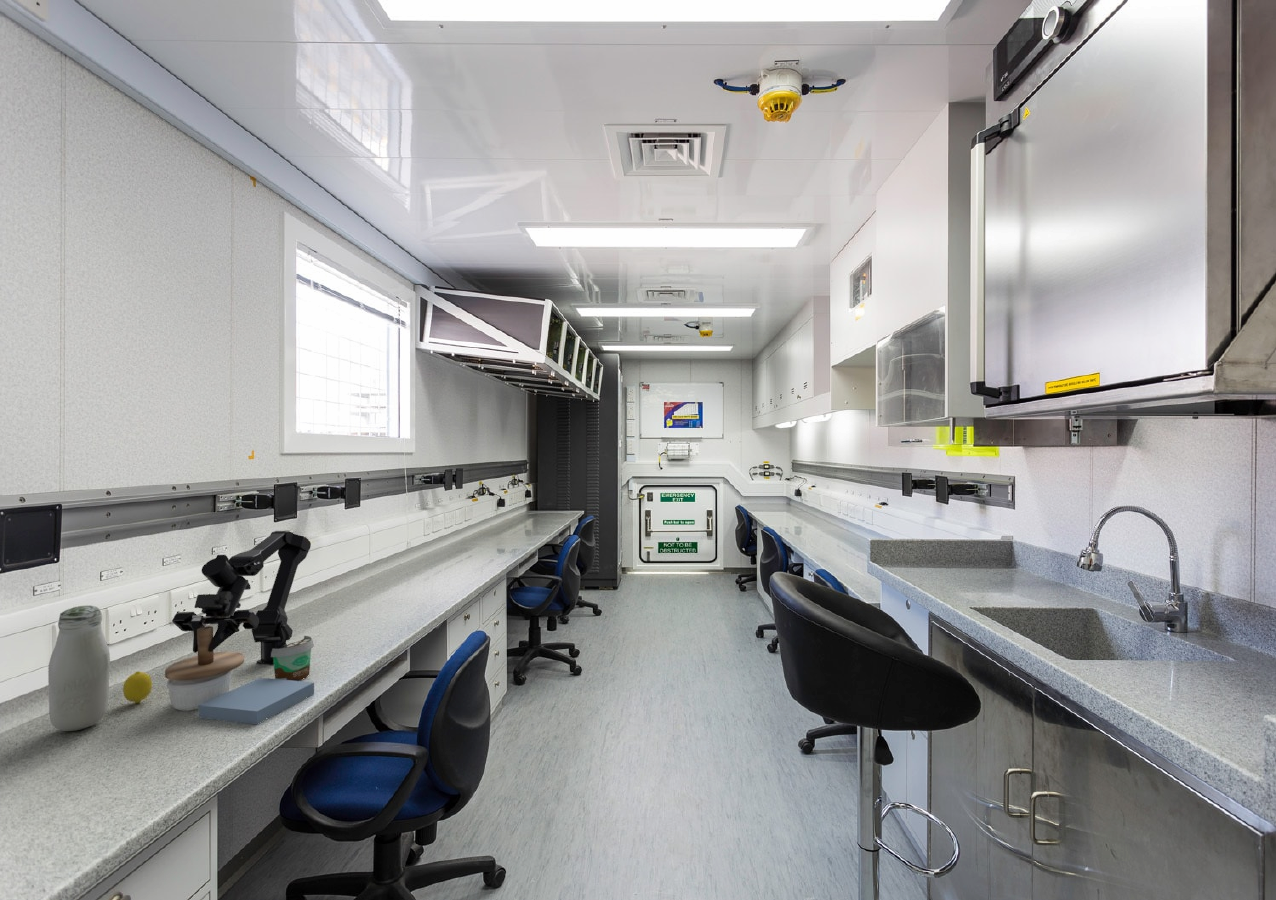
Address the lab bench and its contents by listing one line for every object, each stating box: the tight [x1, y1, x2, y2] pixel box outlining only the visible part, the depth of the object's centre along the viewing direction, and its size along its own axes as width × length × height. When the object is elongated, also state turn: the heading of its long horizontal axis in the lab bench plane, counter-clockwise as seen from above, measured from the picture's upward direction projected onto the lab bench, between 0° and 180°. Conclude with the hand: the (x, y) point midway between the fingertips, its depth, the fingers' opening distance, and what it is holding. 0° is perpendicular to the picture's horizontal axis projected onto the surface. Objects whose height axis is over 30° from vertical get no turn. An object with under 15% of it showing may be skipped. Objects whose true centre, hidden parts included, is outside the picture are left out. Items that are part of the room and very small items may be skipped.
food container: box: [271, 635, 315, 681], centre depth 160 cm, size 12×6×10 cm, turn 168°
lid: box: [164, 625, 245, 681], centre depth 145 cm, size 16×16×10 cm
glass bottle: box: [47, 605, 111, 732], centre depth 132 cm, size 10×10×28 cm
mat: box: [198, 677, 315, 725], centre depth 143 cm, size 17×17×3 cm
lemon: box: [122, 670, 153, 704], centre depth 145 cm, size 6×6×8 cm
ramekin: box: [166, 670, 233, 711], centre depth 146 cm, size 13×13×7 cm
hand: (201, 651), depth 144 cm, fingers closed on lid, 3 cm apart
